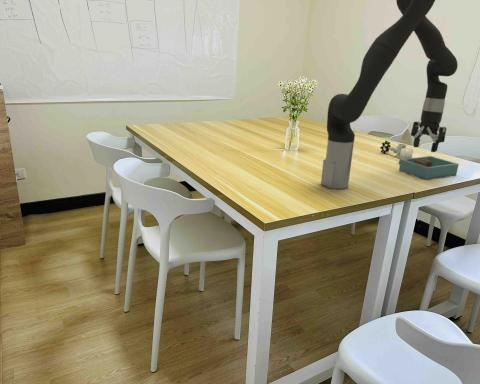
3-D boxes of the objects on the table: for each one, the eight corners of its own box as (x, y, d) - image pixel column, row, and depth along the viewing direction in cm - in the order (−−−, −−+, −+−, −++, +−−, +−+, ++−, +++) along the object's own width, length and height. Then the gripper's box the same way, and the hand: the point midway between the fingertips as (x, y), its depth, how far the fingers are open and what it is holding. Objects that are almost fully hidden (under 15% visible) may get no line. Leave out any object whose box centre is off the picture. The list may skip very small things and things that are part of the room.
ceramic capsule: (404, 166, 174) (407, 150, 172) (396, 163, 178) (398, 148, 176) (412, 165, 176) (415, 150, 174) (404, 162, 180) (406, 147, 178)
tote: (426, 180, 155) (428, 168, 153) (398, 170, 167) (400, 159, 165) (456, 175, 162) (458, 163, 161) (428, 166, 174) (430, 155, 172)
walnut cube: (421, 174, 159) (424, 162, 158) (412, 171, 163) (414, 159, 162) (430, 173, 161) (432, 161, 160) (420, 170, 166) (422, 158, 164)
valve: (408, 158, 188) (388, 152, 198) (410, 145, 186) (390, 140, 195) (398, 159, 185) (379, 154, 195) (401, 146, 183) (381, 141, 192)
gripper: (411, 107, 158) (404, 146, 164) (442, 112, 146) (432, 154, 152) (424, 107, 161) (416, 145, 167) (455, 112, 149) (445, 153, 155)
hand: (424, 149), depth 159 cm, fingers open, 8 cm apart
